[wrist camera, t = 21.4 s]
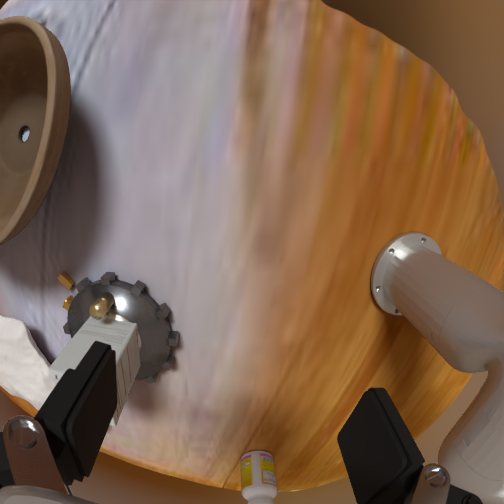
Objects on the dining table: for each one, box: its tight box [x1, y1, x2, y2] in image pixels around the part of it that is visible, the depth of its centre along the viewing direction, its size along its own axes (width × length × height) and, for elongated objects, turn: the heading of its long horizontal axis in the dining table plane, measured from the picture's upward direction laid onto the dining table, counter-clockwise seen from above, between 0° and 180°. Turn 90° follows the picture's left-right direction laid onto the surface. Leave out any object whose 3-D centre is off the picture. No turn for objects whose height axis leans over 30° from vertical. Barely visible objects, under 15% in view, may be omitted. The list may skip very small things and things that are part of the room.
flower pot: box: [0, 16, 71, 245], centre depth 25 cm, size 28×28×13 cm
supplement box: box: [49, 316, 140, 427], centre depth 31 cm, size 7×7×13 cm
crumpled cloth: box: [0, 315, 55, 410], centre depth 38 cm, size 24×35×9 cm
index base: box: [58, 272, 75, 290], centre depth 39 cm, size 14×5×1 cm, turn 46°
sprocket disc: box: [63, 272, 179, 383], centre depth 37 cm, size 18×18×6 cm
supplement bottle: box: [241, 451, 278, 504], centre depth 44 cm, size 7×7×13 cm
